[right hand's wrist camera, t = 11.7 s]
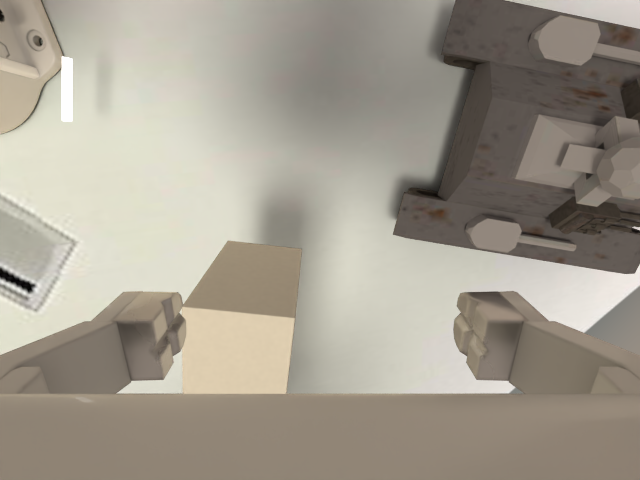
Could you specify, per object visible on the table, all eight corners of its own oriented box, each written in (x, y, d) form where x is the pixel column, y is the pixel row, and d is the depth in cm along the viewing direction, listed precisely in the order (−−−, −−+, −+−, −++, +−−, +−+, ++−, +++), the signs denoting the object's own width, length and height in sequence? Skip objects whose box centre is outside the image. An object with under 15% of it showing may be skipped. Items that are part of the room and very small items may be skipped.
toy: (383, 219, 38) (421, 283, 24) (435, 10, 31) (533, -76, 17) (599, 255, 39) (754, 335, 25) (694, 64, 32) (981, 26, 18)
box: (227, 240, 28) (181, 306, 18) (302, 248, 28) (295, 317, 18) (219, 472, 37) (184, 600, 27) (275, 476, 37) (261, 603, 27)
